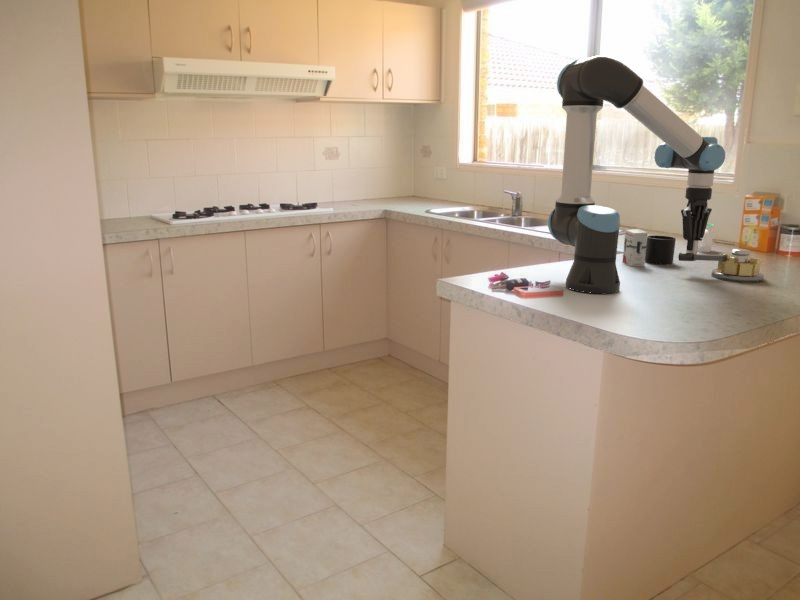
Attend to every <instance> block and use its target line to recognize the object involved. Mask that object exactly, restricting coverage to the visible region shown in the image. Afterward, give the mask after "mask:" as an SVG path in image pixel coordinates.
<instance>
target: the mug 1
mask: <svg viewBox="0 0 800 600" xmlns="http://www.w3.org/2000/svg"><path fill="white" fill-rule="evenodd" d="M676 239H677V238H676V237H674V236H670V235H669V236H668V235H649V236H648V235H647V244H646V255H645V263H648V264H650V265H651V264H652V265H659V266H667V265H672V264H673V263H674V255H675V248H676Z"/></svg>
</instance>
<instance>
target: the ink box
mask: <svg viewBox="0 0 800 600" xmlns="http://www.w3.org/2000/svg"><path fill="white" fill-rule="evenodd" d="M647 237H648V232H647V231H645V230H642V229H639V228H638V229H636V228H635V229H625V230H624V241H623V242H624V243H623V252H622V253H623V254H622V263H624V264H626V265H627V266H629V267H645V265H646V262H645V255H646V244H647Z"/></svg>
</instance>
